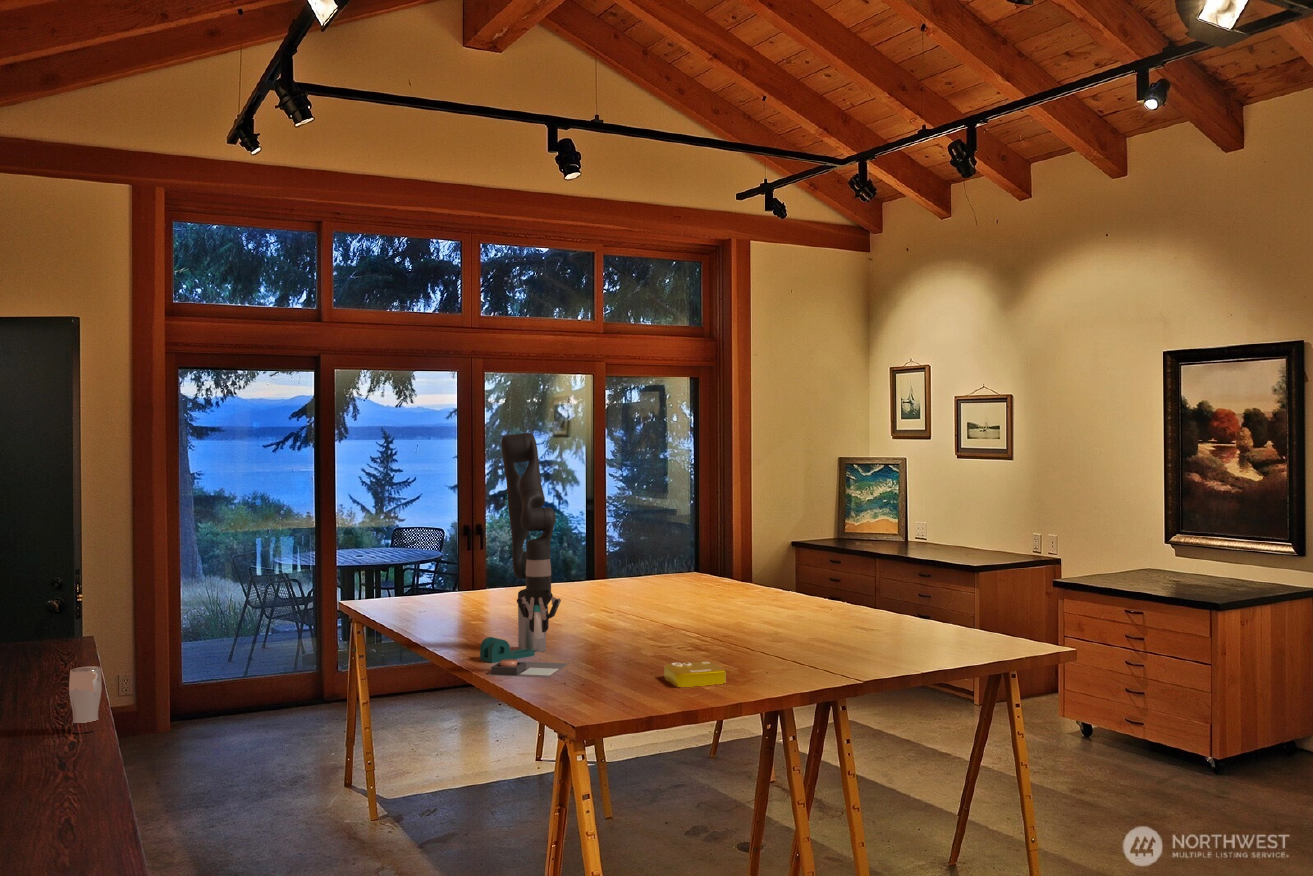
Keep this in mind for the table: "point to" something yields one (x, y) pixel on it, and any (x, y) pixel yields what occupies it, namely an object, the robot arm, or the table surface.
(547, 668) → the drawing board
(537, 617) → the marker
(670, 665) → the element tile
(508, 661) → the button
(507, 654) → the bracket
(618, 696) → the table surface
